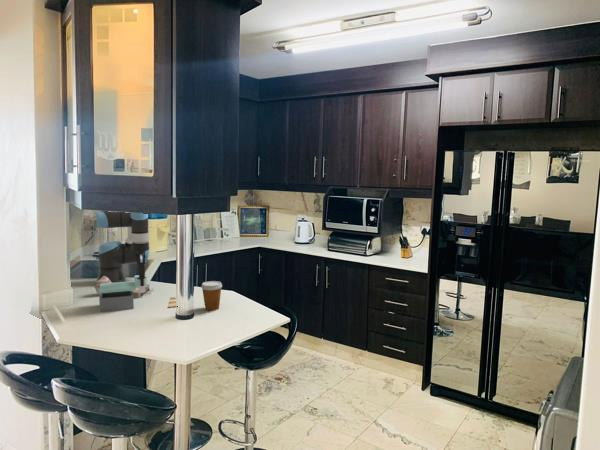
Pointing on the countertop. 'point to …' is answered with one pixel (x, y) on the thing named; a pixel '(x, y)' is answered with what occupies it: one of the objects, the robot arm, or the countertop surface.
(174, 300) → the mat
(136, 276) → the lid
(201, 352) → the countertop surface
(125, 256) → the robot arm
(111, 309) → the tub
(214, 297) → the disposable coffee cup
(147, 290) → the packaged product
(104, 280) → the cupcake
